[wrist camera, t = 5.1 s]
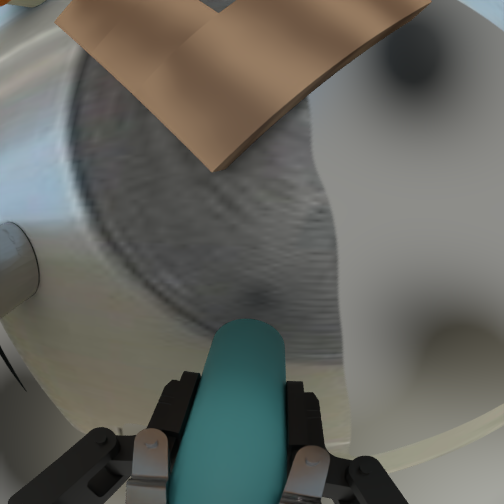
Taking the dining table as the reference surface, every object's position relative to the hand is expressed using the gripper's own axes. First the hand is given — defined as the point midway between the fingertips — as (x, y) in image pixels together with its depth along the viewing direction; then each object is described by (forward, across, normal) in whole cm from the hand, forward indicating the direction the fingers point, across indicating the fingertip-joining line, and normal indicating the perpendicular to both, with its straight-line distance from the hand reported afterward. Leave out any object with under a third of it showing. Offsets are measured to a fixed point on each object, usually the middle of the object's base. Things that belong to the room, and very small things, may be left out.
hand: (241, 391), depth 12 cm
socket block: (+10, +3, -23) cm, 26 cm away
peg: (+3, 0, 0) cm, 3 cm away
